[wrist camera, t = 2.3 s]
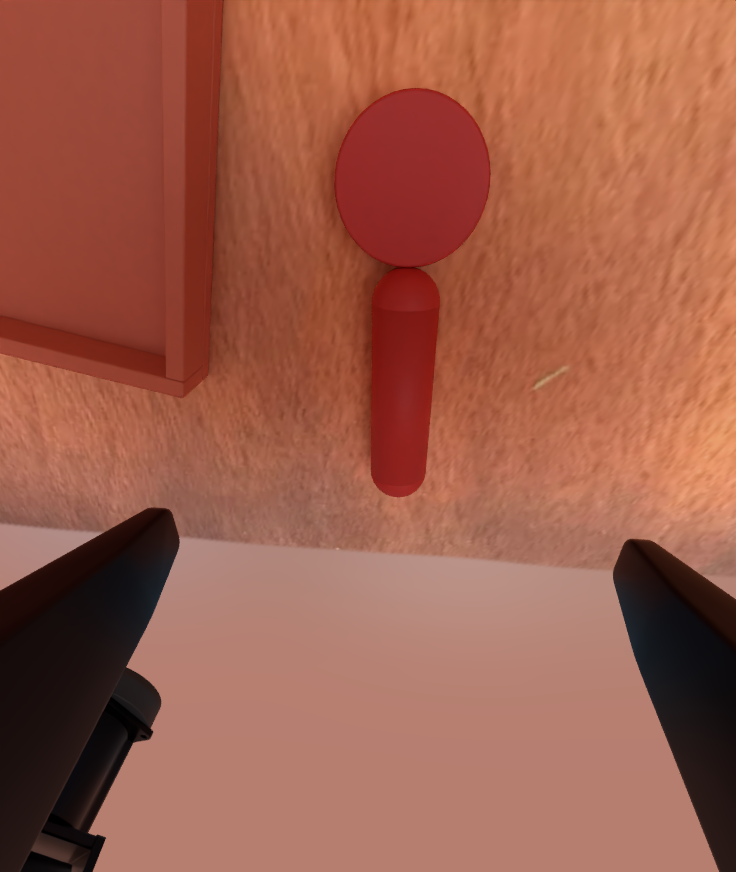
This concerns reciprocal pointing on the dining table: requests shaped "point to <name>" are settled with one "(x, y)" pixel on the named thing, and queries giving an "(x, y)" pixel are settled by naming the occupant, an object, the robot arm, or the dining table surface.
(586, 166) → the dining table surface
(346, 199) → the red spoon
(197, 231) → the red tray
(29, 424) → the dining table surface
